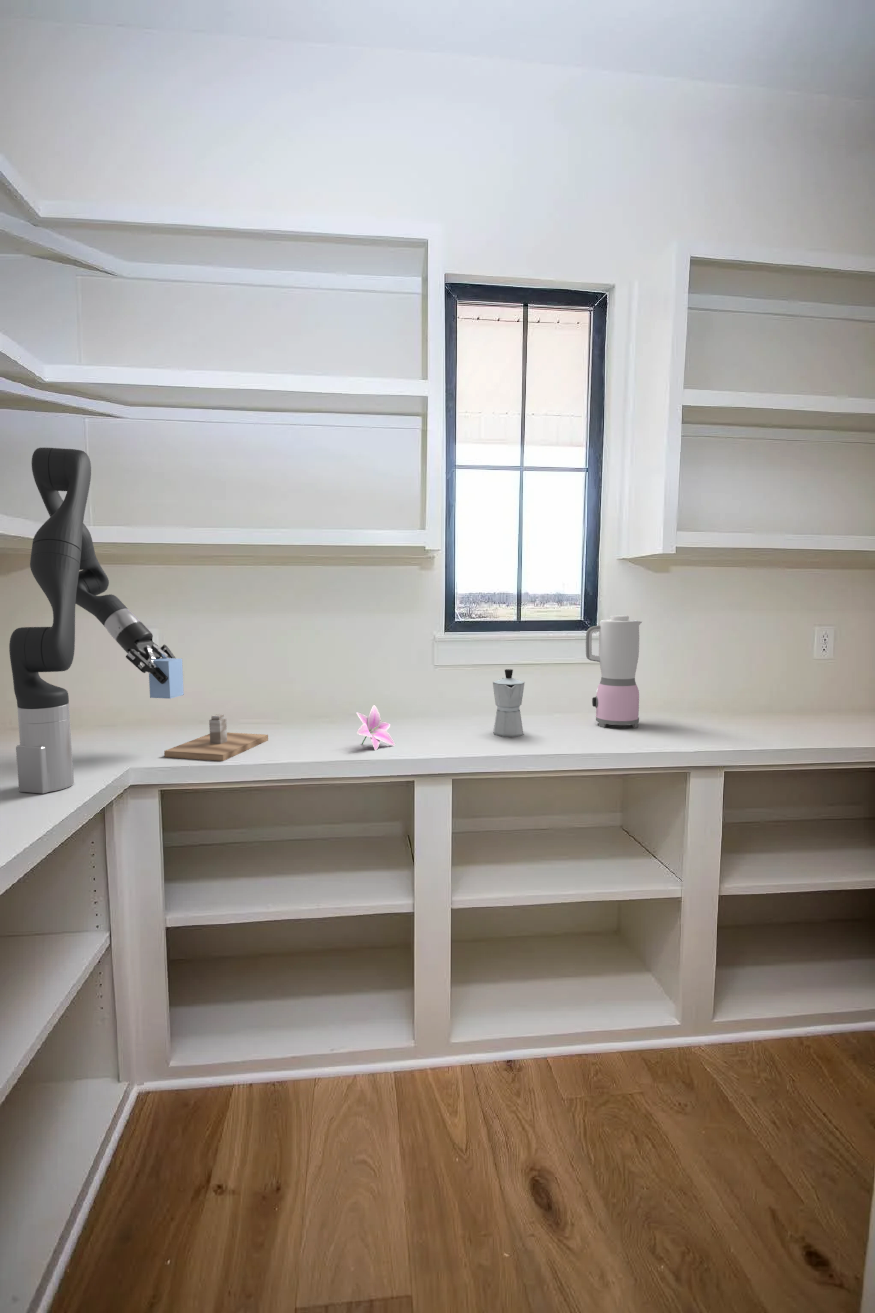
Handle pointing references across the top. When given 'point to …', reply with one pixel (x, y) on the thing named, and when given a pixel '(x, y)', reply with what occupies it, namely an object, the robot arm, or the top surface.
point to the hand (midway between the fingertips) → (172, 679)
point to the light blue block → (174, 682)
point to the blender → (616, 671)
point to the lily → (374, 728)
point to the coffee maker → (508, 706)
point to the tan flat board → (216, 743)
